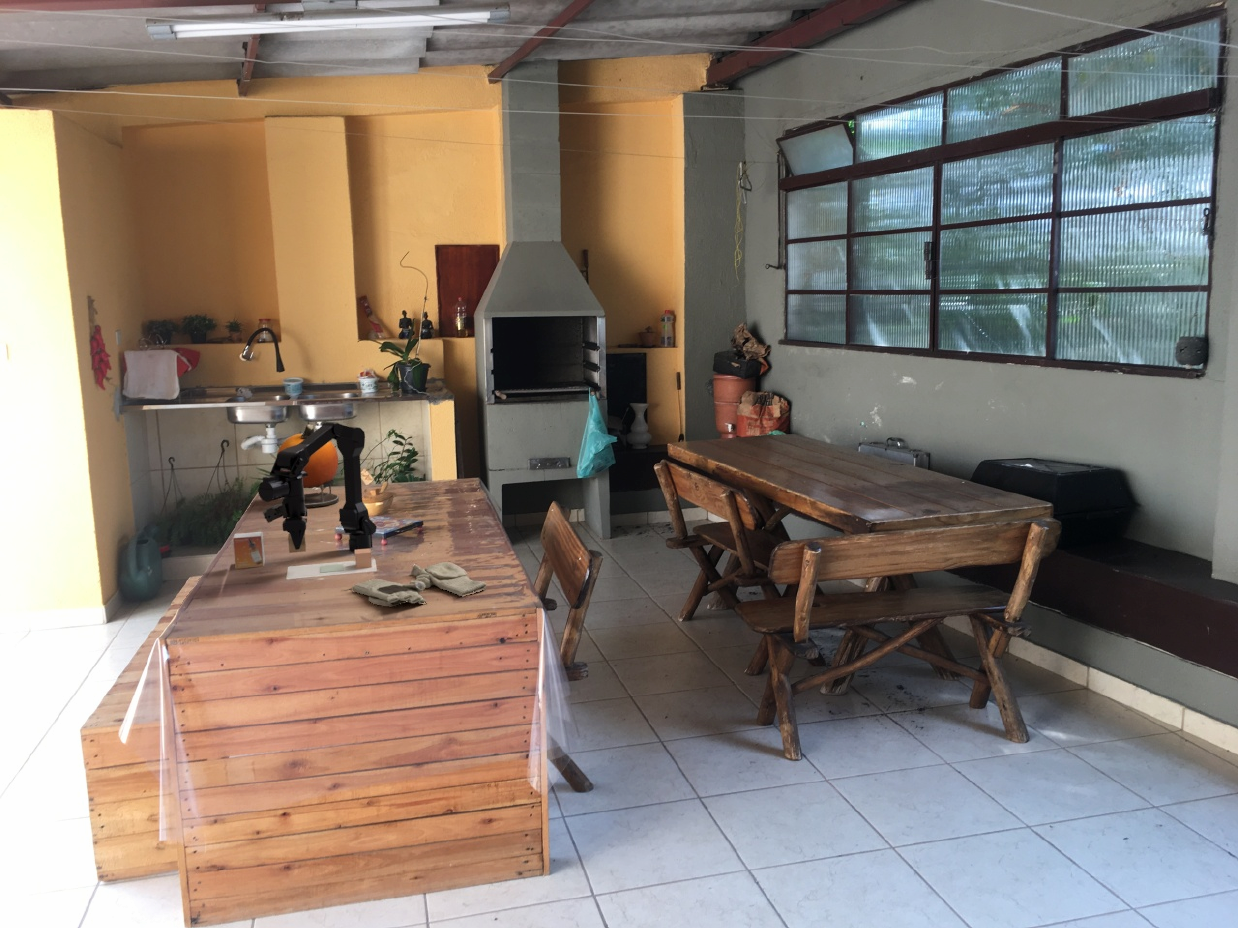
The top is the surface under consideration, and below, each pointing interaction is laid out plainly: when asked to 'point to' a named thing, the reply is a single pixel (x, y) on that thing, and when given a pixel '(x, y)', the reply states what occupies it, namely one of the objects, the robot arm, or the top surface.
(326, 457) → the pumpkin
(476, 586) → the pair of gloves
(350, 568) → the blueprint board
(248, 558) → the small box
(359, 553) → the terracotta block
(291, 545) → the walnut block
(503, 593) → the top surface
